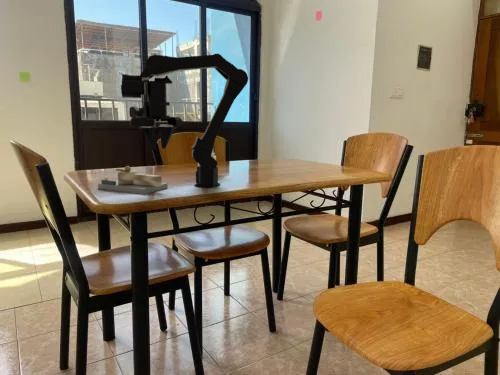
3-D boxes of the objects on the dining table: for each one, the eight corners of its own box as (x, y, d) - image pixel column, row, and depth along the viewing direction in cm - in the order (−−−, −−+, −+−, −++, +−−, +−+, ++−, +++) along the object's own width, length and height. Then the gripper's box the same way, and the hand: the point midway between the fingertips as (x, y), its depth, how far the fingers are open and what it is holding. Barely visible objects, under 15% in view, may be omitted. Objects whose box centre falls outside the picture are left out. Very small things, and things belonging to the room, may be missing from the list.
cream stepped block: (165, 184, 116) (165, 167, 115) (153, 187, 111) (152, 170, 110) (124, 180, 123) (123, 164, 122) (110, 183, 118) (109, 166, 117)
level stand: (167, 187, 121) (167, 175, 120) (144, 194, 111) (144, 180, 110) (123, 183, 128) (122, 171, 127) (98, 188, 118) (97, 176, 117)
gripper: (154, 99, 129) (156, 146, 132) (114, 97, 112) (117, 150, 115) (182, 99, 125) (183, 147, 127) (145, 97, 108) (147, 152, 111)
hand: (158, 149), depth 120 cm, fingers open, 5 cm apart
